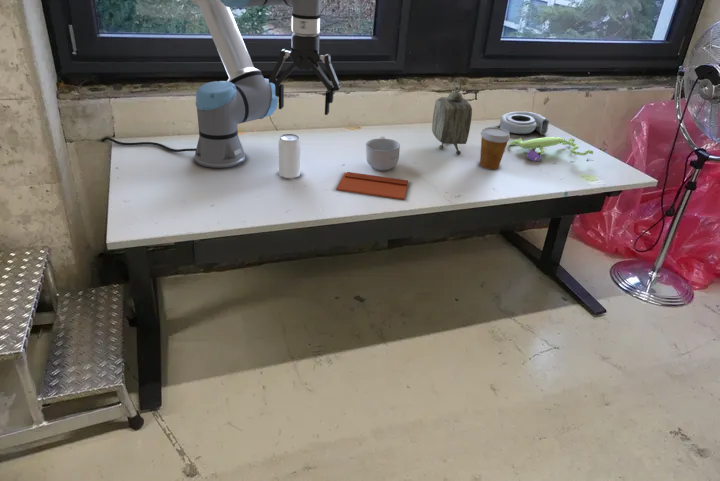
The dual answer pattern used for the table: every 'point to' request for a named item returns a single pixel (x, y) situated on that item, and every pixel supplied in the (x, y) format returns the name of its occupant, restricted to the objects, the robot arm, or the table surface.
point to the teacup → (382, 153)
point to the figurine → (546, 142)
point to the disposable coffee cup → (493, 146)
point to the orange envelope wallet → (373, 185)
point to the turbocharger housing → (524, 122)
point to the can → (289, 156)
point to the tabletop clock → (452, 119)
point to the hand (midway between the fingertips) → (303, 110)
